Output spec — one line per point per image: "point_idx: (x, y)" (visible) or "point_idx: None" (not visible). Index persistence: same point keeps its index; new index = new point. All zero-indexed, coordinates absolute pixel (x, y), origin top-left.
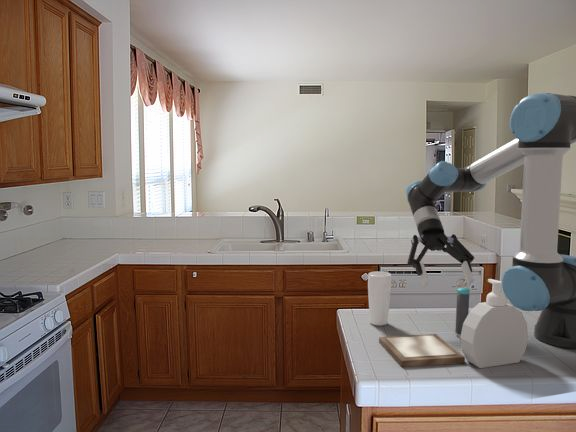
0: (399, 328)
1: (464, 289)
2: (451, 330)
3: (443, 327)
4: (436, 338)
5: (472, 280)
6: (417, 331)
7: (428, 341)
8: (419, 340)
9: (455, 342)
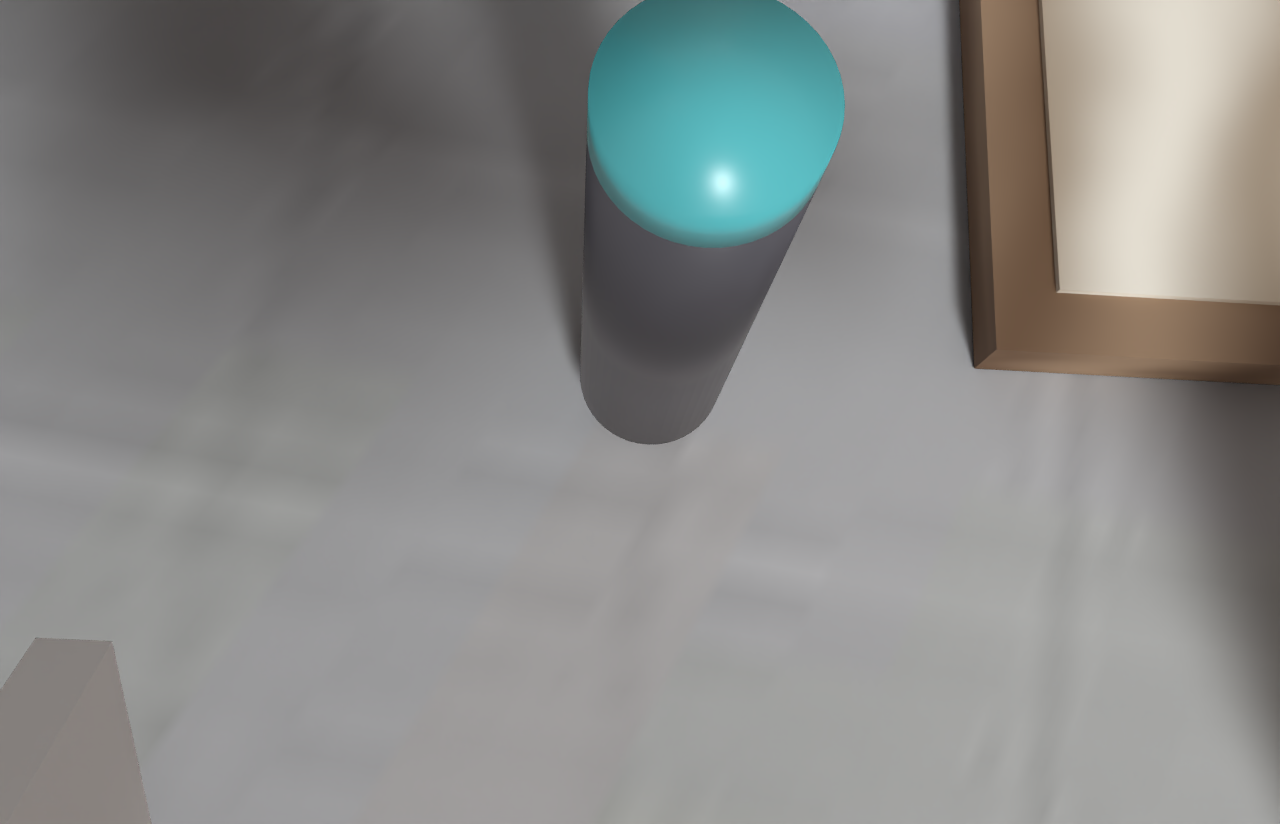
0: (1271, 802)
1: (703, 78)
2: (652, 606)
3: (698, 733)
4: (1055, 201)
5: (72, 656)
6: (1082, 652)
7: (1172, 142)
8: (1256, 186)
9: (798, 249)
